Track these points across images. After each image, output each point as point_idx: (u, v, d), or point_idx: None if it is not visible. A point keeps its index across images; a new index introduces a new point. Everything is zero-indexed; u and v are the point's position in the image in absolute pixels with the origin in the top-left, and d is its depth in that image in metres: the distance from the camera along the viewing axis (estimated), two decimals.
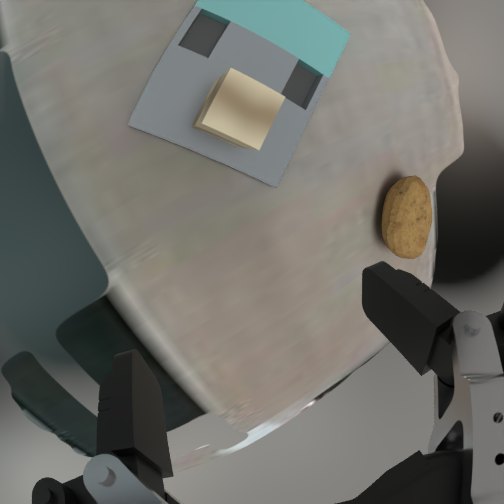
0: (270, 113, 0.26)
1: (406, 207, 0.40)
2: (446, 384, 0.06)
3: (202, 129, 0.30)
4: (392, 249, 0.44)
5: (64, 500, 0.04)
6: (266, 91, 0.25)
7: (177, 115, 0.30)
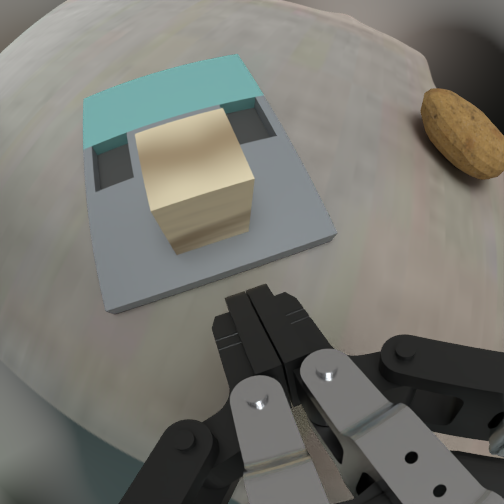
0: (224, 133, 0.17)
1: (453, 120, 0.25)
2: (326, 426, 0.07)
3: (183, 240, 0.21)
4: (491, 172, 0.25)
5: (212, 439, 0.05)
6: (196, 119, 0.18)
7: (151, 256, 0.23)
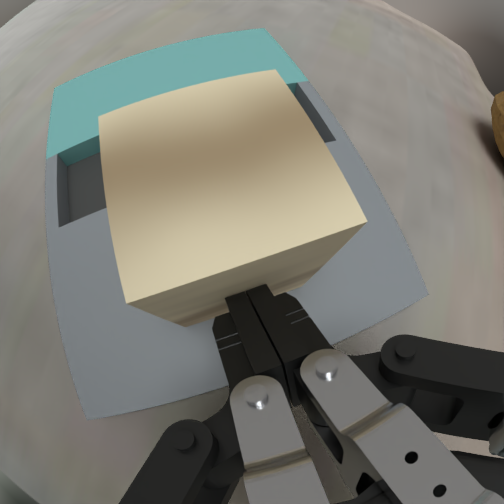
0: (287, 115, 0.08)
1: None
2: (326, 426, 0.07)
3: (198, 315, 0.11)
4: None
5: (212, 439, 0.05)
6: (224, 86, 0.08)
7: (149, 342, 0.13)
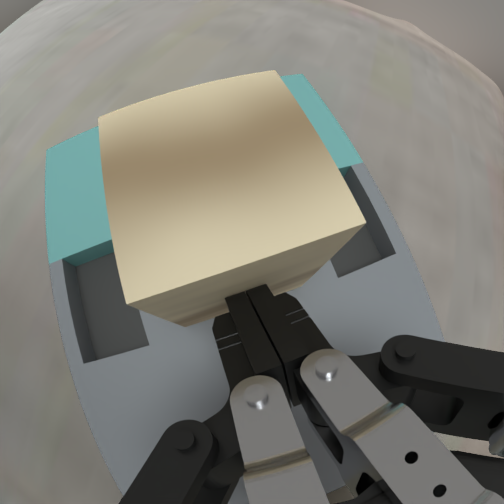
0: (286, 116, 0.08)
1: None
2: (326, 426, 0.07)
3: (198, 315, 0.12)
4: None
5: (212, 439, 0.05)
6: (224, 87, 0.08)
7: None
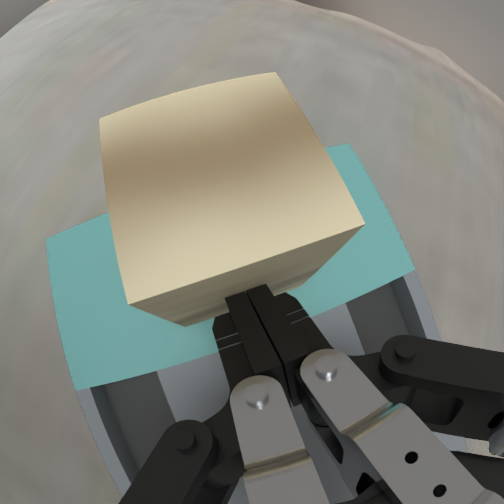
0: (286, 118, 0.08)
1: None
2: (326, 426, 0.07)
3: (198, 315, 0.12)
4: None
5: (212, 439, 0.05)
6: (224, 89, 0.08)
7: None
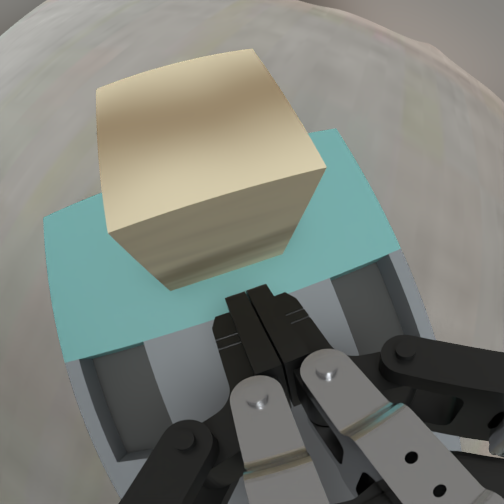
0: (258, 84, 0.09)
1: None
2: (326, 426, 0.07)
3: (180, 273, 0.12)
4: None
5: (211, 439, 0.05)
6: (205, 62, 0.09)
7: None
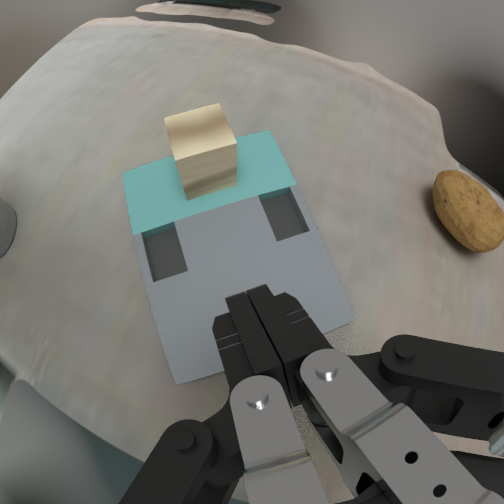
0: (219, 118, 0.28)
1: (461, 206, 0.30)
2: (326, 426, 0.07)
3: (192, 187, 0.31)
4: (487, 249, 0.31)
5: (211, 439, 0.05)
6: (202, 110, 0.28)
7: (211, 342, 0.29)
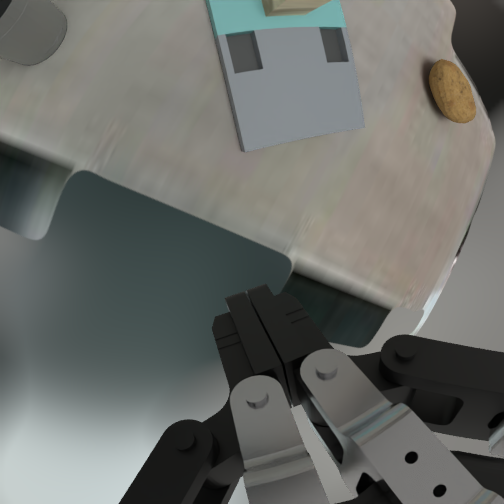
0: None
1: (449, 87, 0.37)
2: (326, 426, 0.07)
3: (279, 11, 0.28)
4: (455, 120, 0.43)
5: (211, 439, 0.05)
6: None
7: (274, 122, 0.38)
